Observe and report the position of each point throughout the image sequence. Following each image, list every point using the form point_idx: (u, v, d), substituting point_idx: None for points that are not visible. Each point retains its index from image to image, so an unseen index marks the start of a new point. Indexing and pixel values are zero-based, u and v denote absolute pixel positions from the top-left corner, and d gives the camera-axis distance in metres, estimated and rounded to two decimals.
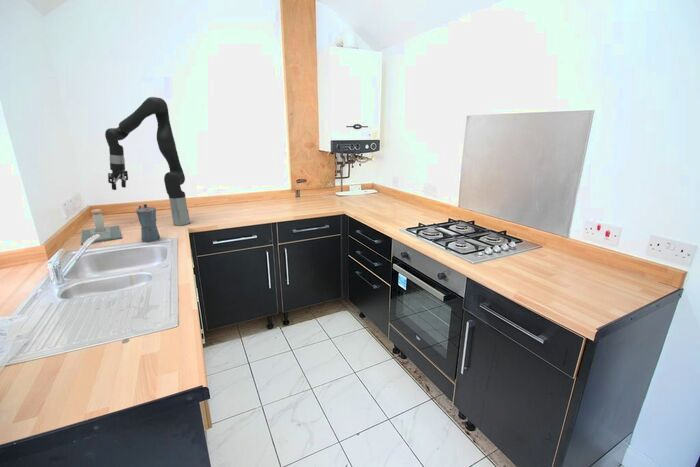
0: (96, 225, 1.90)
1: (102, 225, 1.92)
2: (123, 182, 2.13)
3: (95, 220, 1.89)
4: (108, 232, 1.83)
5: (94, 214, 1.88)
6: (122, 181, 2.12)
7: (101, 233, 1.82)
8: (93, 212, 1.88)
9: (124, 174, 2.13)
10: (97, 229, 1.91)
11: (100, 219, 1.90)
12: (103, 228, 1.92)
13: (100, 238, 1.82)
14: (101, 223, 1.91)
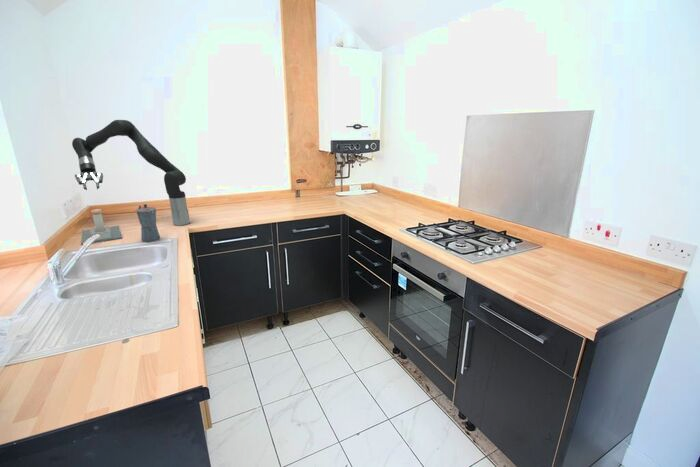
0: (96, 225, 1.90)
1: (102, 225, 1.92)
2: (96, 183, 2.01)
3: (95, 220, 1.89)
4: (108, 232, 1.83)
5: (94, 214, 1.88)
6: (96, 183, 2.02)
7: (101, 233, 1.82)
8: (93, 212, 1.88)
9: None
10: (97, 229, 1.91)
11: (100, 219, 1.90)
12: (103, 228, 1.92)
13: (100, 238, 1.82)
14: (101, 223, 1.91)
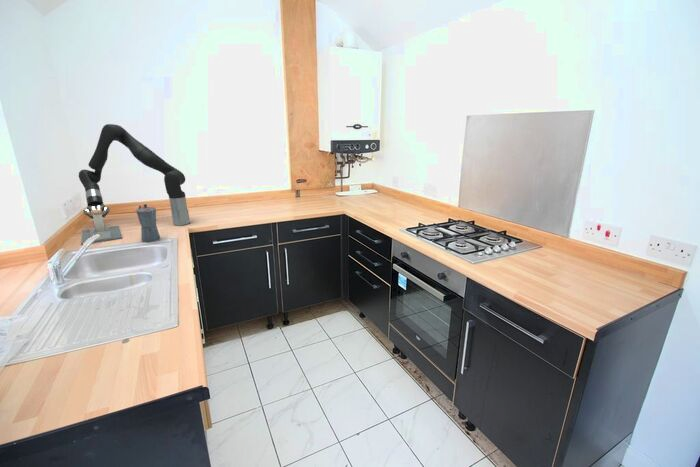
0: (96, 225, 1.89)
1: (102, 225, 1.91)
2: None
3: (95, 220, 1.89)
4: (108, 232, 1.83)
5: (94, 214, 1.88)
6: None
7: (101, 233, 1.82)
8: (93, 212, 1.87)
9: None
10: (97, 229, 1.90)
11: (100, 219, 1.90)
12: (103, 228, 1.92)
13: (100, 238, 1.82)
14: (101, 223, 1.91)
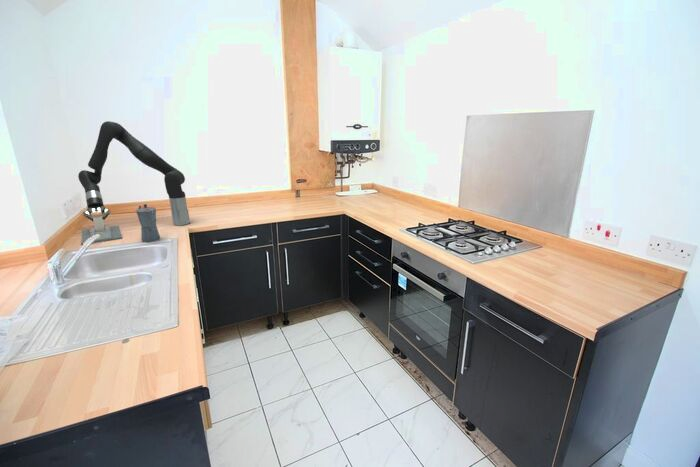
0: (96, 228, 1.85)
1: (102, 228, 1.86)
2: None
3: (95, 223, 1.84)
4: (108, 232, 1.83)
5: (94, 217, 1.83)
6: None
7: (101, 233, 1.82)
8: (93, 215, 1.82)
9: None
10: None
11: (100, 222, 1.85)
12: None
13: (100, 238, 1.82)
14: (101, 226, 1.86)
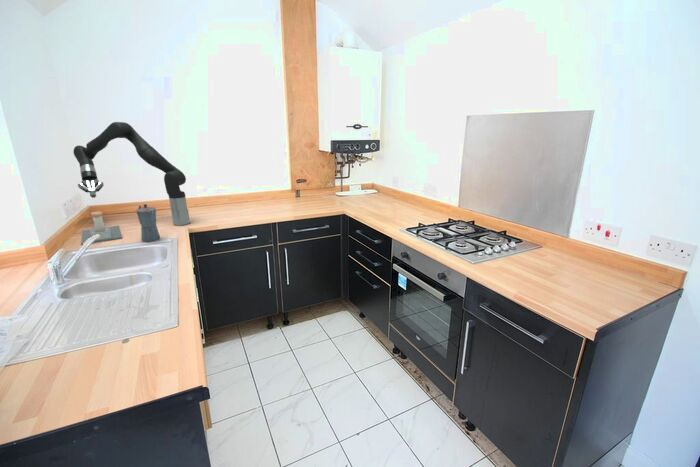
0: (96, 228, 1.85)
1: (102, 228, 1.86)
2: (92, 192, 2.01)
3: (95, 223, 1.84)
4: (108, 232, 1.83)
5: (94, 217, 1.83)
6: None
7: (101, 233, 1.82)
8: (93, 215, 1.82)
9: None
10: None
11: (100, 222, 1.85)
12: None
13: (100, 238, 1.82)
14: (101, 226, 1.86)
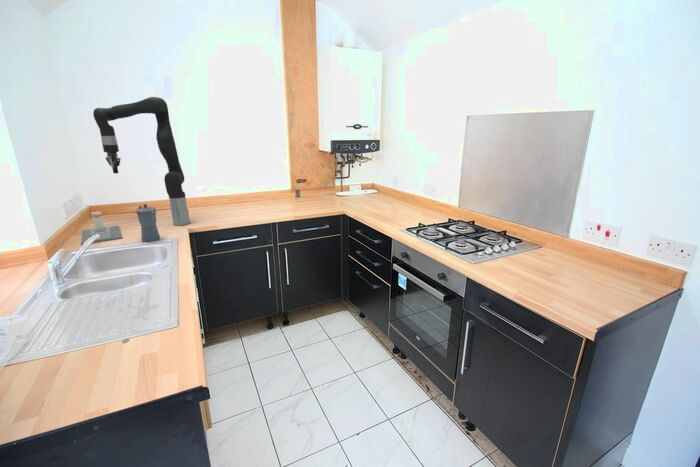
0: (96, 228, 1.85)
1: (102, 228, 1.86)
2: None
3: (95, 223, 1.84)
4: (108, 232, 1.83)
5: (94, 217, 1.83)
6: None
7: (101, 233, 1.82)
8: (93, 215, 1.82)
9: None
10: None
11: (100, 222, 1.85)
12: None
13: (100, 238, 1.82)
14: (101, 226, 1.86)
